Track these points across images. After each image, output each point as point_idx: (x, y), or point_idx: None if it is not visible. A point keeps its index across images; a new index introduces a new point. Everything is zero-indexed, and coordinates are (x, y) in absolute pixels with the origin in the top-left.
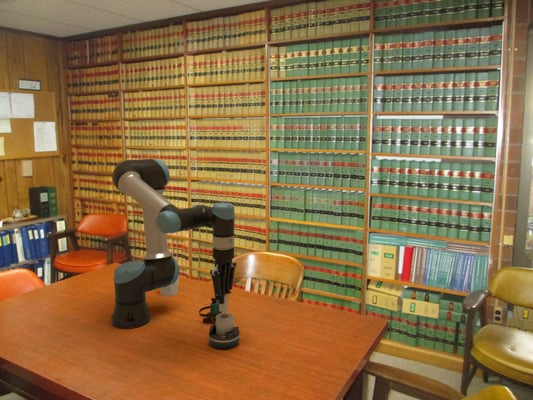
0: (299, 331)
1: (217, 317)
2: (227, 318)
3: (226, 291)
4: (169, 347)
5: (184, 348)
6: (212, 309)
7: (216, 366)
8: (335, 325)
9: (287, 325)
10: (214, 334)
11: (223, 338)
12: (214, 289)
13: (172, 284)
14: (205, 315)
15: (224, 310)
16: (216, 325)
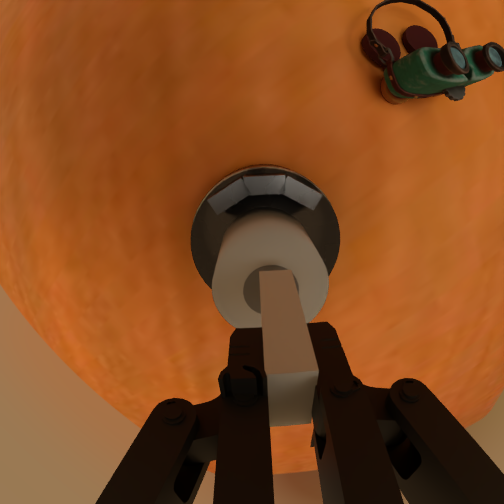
0: (430, 364)
1: (228, 264)
2: (253, 320)
3: (314, 435)
4: (106, 83)
5: (130, 131)
6: (407, 69)
7: (123, 306)
8: (465, 390)
9: (457, 323)
10: (216, 224)
11: (210, 282)
12: (128, 458)
13: None
14: (373, 43)
15: (261, 321)
16: (223, 244)
